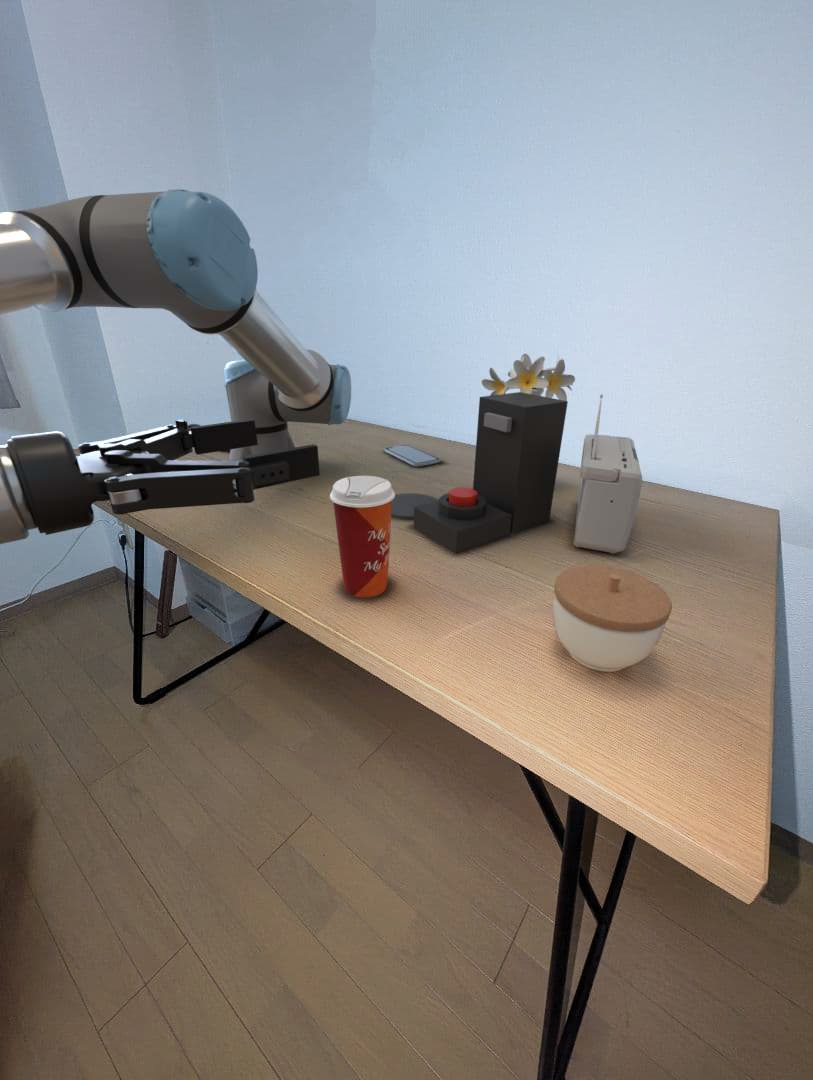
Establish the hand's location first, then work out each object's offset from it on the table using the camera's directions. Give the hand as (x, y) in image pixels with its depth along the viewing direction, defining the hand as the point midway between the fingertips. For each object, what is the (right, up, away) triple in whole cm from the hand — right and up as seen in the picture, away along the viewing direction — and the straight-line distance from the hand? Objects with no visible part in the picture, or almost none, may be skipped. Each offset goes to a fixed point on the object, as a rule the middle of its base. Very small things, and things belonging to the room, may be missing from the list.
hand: (283, 444), depth 47 cm
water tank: (+30, -6, +35) cm, 46 cm away
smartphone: (+14, +10, +67) cm, 69 cm away
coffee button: (+21, -4, +27) cm, 35 cm away
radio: (+44, -8, +31) cm, 54 cm away
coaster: (+13, -4, +38) cm, 41 cm away
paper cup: (+7, -16, +14) cm, 22 cm away
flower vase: (+36, +2, +50) cm, 62 cm away
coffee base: (+21, -8, +29) cm, 37 cm away
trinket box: (+33, -22, +3) cm, 39 cm away
